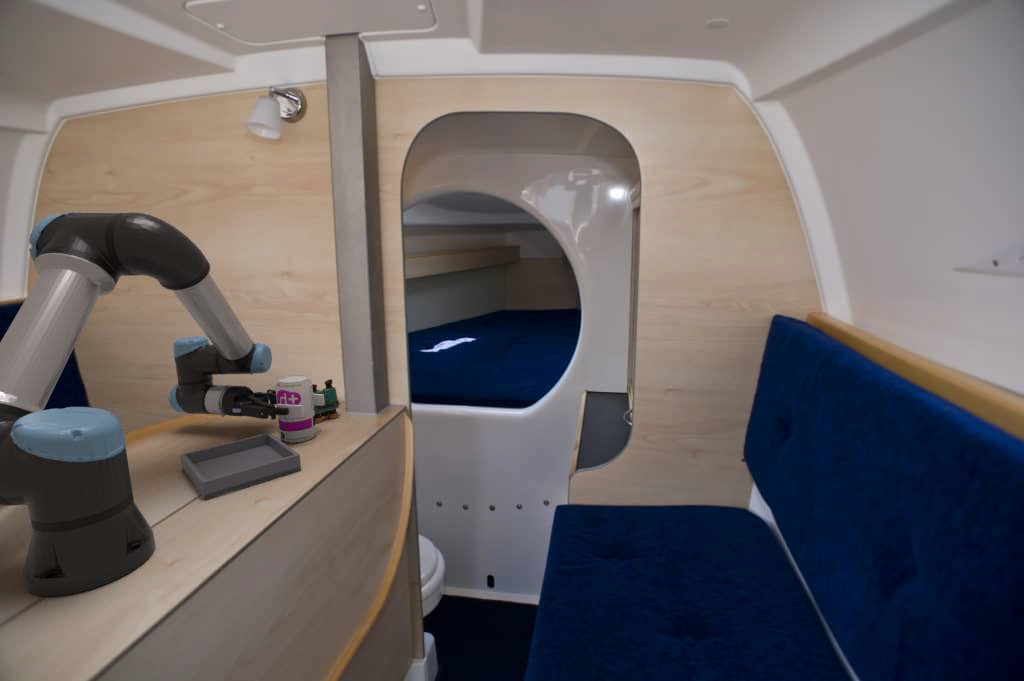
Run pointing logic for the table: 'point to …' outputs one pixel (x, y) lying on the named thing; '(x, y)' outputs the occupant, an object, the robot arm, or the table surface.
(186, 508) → the table surface
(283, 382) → the supplement can
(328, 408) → the binoculars
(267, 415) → the robot arm
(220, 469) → the tray
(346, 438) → the table surface
